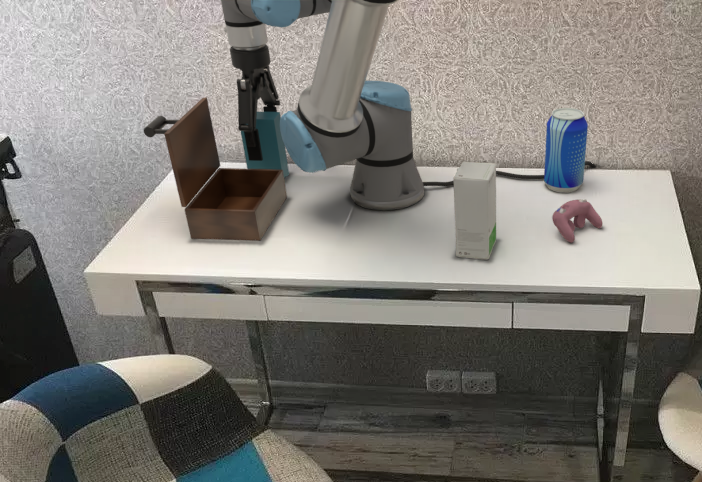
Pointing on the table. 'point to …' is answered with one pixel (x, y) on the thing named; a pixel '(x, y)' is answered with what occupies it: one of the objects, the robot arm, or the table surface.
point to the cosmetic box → (475, 209)
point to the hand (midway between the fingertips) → (265, 147)
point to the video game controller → (575, 217)
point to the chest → (236, 204)
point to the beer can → (565, 150)
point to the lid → (189, 149)
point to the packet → (268, 143)
